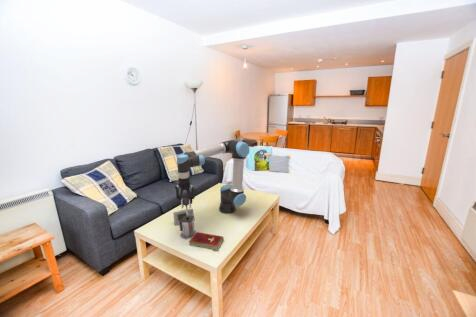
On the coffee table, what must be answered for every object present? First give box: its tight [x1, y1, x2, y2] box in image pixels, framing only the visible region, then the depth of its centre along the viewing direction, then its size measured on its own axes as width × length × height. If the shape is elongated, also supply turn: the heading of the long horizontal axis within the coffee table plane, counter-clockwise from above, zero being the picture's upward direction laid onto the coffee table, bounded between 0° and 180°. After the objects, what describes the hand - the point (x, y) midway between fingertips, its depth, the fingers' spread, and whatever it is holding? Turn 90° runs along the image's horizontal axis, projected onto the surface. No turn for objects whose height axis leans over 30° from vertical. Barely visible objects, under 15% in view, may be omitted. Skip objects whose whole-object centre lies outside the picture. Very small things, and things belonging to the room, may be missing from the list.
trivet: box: [180, 229, 197, 240], centre depth 162 cm, size 12×12×1 cm
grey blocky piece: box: [179, 215, 195, 237], centre depth 161 cm, size 10×8×13 cm
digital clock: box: [172, 208, 195, 226], centre depth 178 cm, size 16×9×11 cm, turn 102°
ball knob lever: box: [183, 198, 189, 219], centre depth 158 cm, size 5×5×19 cm
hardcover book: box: [188, 231, 224, 251], centre depth 153 cm, size 12×21×4 cm, turn 74°
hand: (186, 207), depth 157 cm, fingers closed on ball knob lever, 5 cm apart
